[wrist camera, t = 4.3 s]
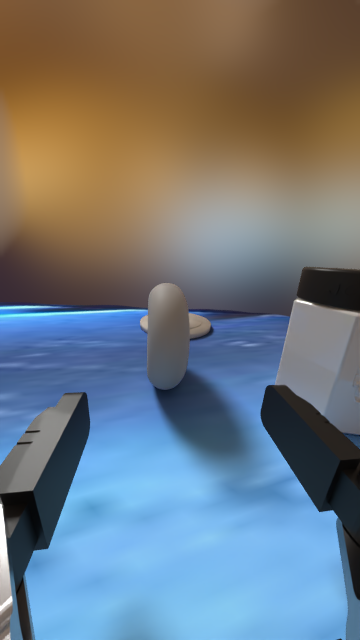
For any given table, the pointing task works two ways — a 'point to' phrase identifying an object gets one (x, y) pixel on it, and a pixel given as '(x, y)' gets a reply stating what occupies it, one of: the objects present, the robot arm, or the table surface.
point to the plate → (197, 325)
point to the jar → (326, 345)
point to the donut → (167, 336)
